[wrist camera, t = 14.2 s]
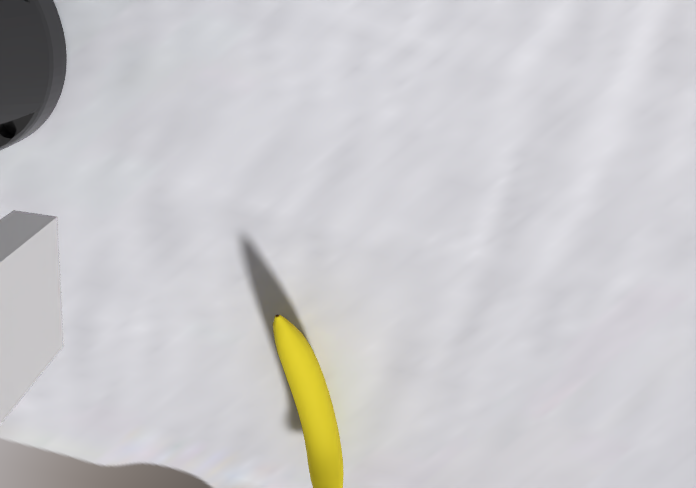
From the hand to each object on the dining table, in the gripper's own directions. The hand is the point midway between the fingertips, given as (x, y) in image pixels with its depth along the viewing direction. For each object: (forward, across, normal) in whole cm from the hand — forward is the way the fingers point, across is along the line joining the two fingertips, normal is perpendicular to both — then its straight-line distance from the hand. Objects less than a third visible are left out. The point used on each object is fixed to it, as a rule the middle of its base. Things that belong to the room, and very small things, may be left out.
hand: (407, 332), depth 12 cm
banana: (+32, -1, -25) cm, 41 cm away
